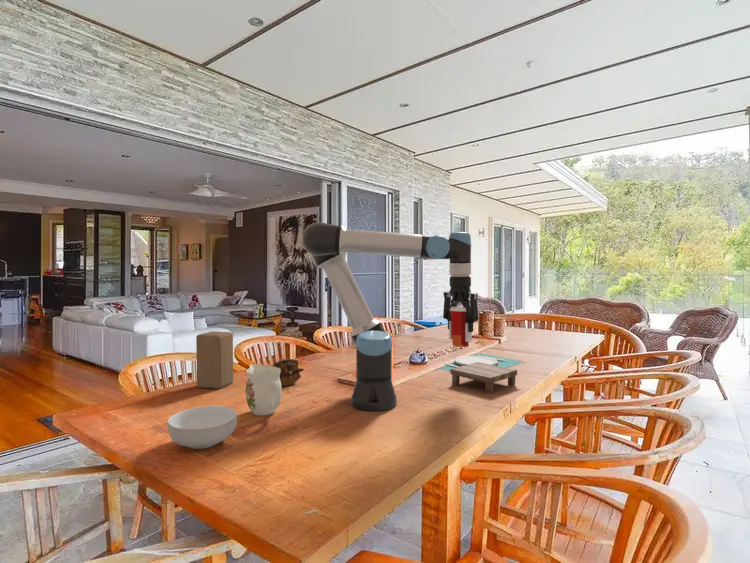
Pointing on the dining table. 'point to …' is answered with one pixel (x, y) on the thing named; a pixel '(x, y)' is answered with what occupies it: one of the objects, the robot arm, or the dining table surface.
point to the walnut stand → (483, 374)
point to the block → (214, 359)
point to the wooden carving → (288, 371)
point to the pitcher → (263, 389)
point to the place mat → (481, 361)
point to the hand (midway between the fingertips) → (460, 339)
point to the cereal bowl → (202, 426)
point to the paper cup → (458, 325)
